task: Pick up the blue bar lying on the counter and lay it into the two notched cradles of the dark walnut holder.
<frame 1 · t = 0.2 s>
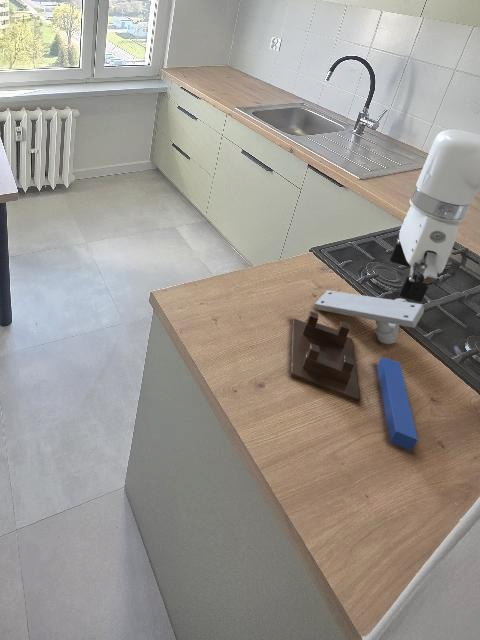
hand: (404, 279, 77), 24 cm above the counter, tool pointing down, fingers open, 9 cm apart
blue bar: (392, 405, 79), on the counter
door handle: (365, 314, 100), on the counter
holder: (322, 358, 88), on the counter
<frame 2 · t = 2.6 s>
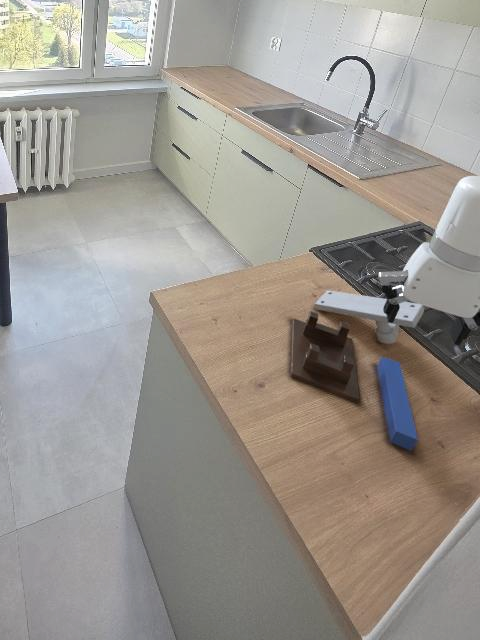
hand: (420, 327, 73), 19 cm above the counter, tool pointing down, fingers open, 9 cm apart
nothing on the counter moved.
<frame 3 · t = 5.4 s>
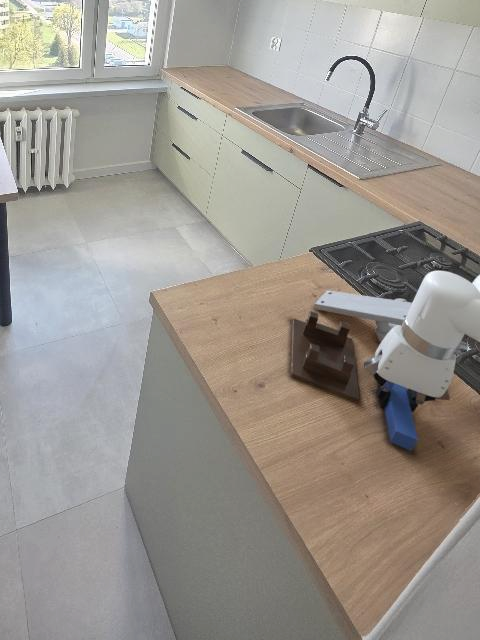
hand: (393, 404, 79), 0 cm above the counter, tool pointing down, fingers closed on blue bar, 3 cm apart
blue bar: (392, 405, 79), on the counter, touching gripper
everything else where it was.
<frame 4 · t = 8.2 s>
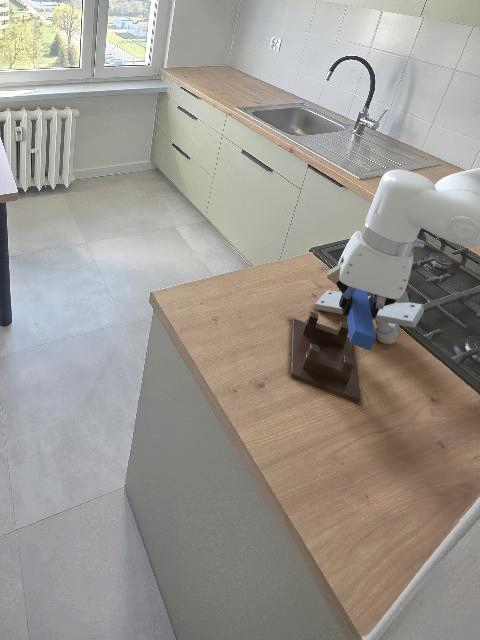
hand: (355, 313, 80), 15 cm above the counter, tool pointing down, fingers closed on blue bar, 3 cm apart
blue bar: (355, 314, 80), point 15 cm above the counter, touching gripper
everything else where it was.
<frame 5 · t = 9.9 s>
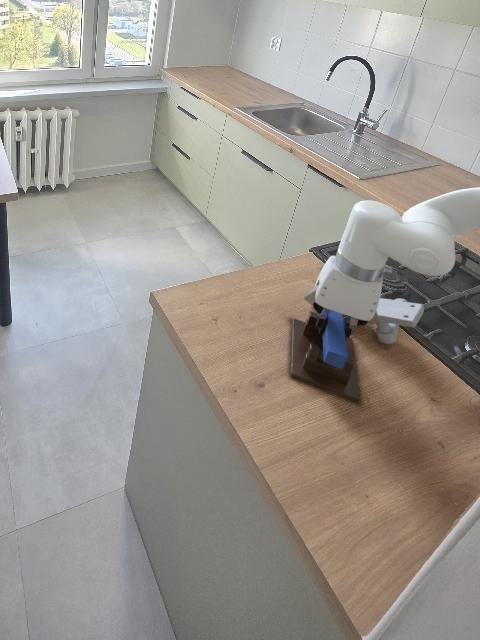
hand: (331, 332, 85), 8 cm above the counter, tool pointing down, fingers closed on blue bar, 3 cm apart
blue bar: (330, 333, 85), point 7 cm above the counter, touching gripper
everything else where it was.
when the fingers open (4 cm above the counter, at t = 11.0 s): blue bar stays where it is, resting on holder.
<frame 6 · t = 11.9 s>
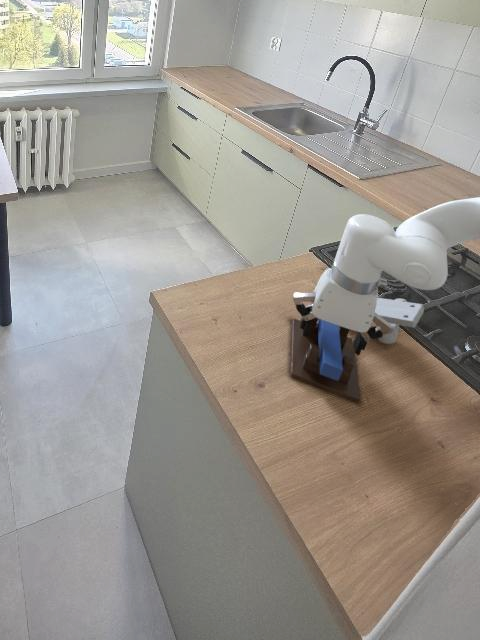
hand: (329, 339, 86), 6 cm above the counter, tool pointing down, fingers open, 9 cm apart
blue bar: (326, 344, 86), point 4 cm above the counter, touching holder
everything else where it was.
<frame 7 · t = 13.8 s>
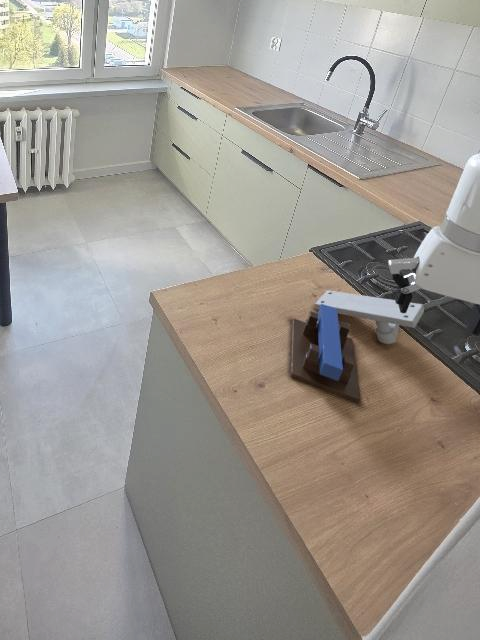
hand: (435, 317, 69), 24 cm above the counter, tool pointing down, fingers open, 9 cm apart
nothing on the counter moved.
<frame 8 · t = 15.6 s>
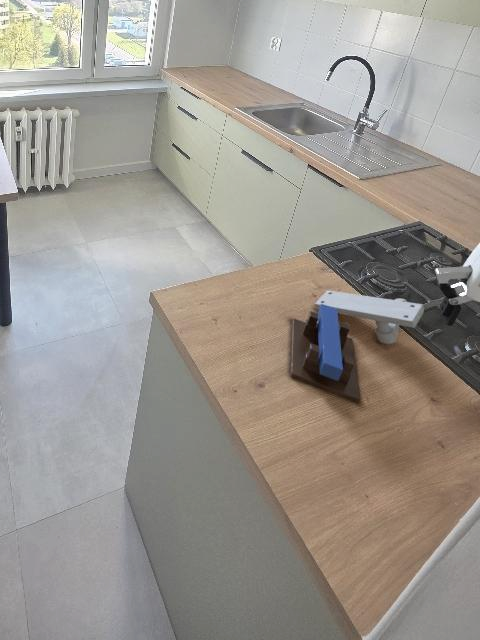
nothing on the counter moved.
at the end: blue bar 0.1 cm off-centre on the holder, point 4.0 cm above the holder's base; blue bar tilted 0°; the gripper is holding nothing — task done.
